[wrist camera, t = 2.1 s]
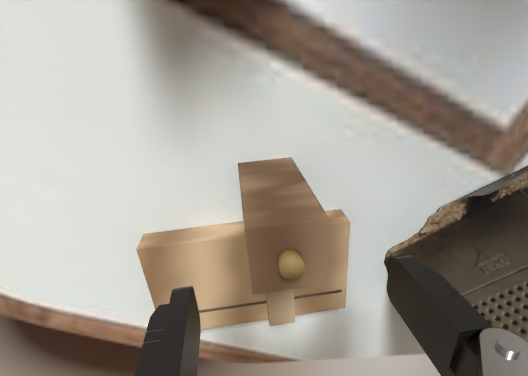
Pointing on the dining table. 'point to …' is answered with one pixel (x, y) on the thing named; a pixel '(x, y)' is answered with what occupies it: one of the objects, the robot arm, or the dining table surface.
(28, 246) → the dining table surface
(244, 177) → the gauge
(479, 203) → the radio
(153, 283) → the board
